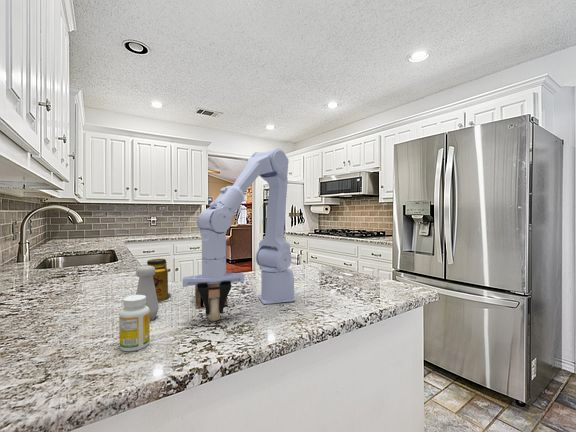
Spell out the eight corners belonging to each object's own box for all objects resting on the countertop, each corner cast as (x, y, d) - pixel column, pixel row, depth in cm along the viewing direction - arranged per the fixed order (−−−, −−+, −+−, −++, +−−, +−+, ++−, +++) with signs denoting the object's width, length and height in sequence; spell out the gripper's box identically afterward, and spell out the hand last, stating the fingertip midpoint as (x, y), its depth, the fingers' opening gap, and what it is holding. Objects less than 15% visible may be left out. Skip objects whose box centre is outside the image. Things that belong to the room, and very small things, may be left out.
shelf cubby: (222, 293, 94) (222, 273, 94) (227, 305, 83) (227, 282, 83) (195, 296, 92) (195, 275, 91) (195, 308, 80) (195, 285, 80)
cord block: (218, 300, 87) (218, 283, 87) (224, 319, 72) (223, 298, 72) (202, 301, 86) (202, 284, 85) (205, 321, 70) (205, 300, 70)
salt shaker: (148, 324, 69) (147, 269, 69) (127, 322, 70) (126, 268, 70) (163, 315, 75) (163, 264, 75) (143, 313, 76) (143, 263, 76)
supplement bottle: (126, 355, 55) (125, 303, 54) (115, 346, 58) (114, 298, 58) (154, 344, 59) (154, 297, 58) (142, 337, 62) (142, 292, 62)
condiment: (143, 304, 84) (143, 262, 83) (145, 296, 92) (144, 258, 91) (171, 301, 87) (170, 260, 86) (170, 293, 94) (170, 256, 94)
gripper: (240, 253, 78) (240, 304, 78) (182, 256, 73) (183, 310, 73) (245, 258, 71) (246, 313, 72) (182, 261, 67) (182, 321, 67)
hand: (214, 313), depth 72 cm, fingers closed on cord block, 3 cm apart
